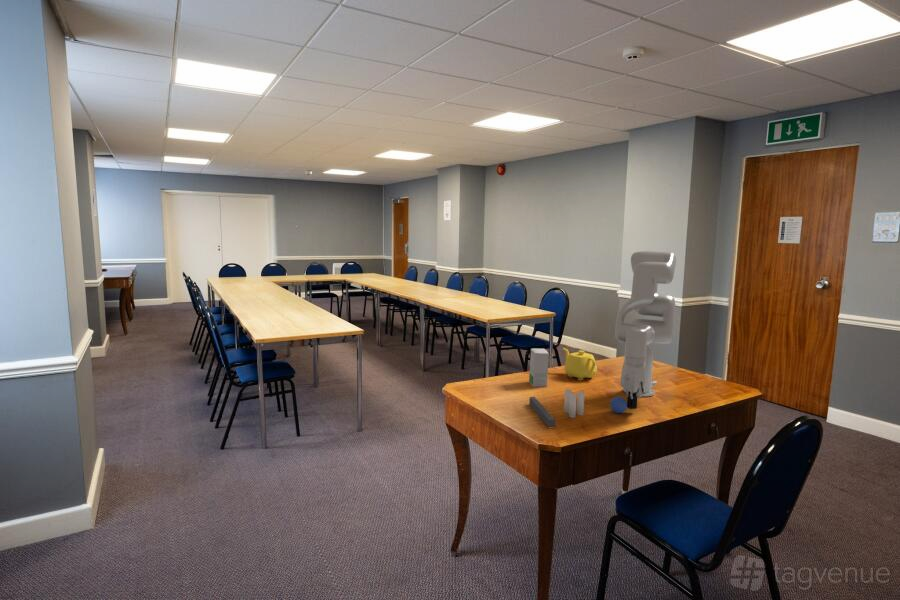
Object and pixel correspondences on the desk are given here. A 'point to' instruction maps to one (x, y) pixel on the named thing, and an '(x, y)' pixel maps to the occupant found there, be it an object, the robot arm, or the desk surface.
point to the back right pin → (567, 400)
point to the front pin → (580, 403)
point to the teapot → (580, 364)
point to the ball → (618, 405)
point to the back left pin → (572, 405)
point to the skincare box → (538, 367)
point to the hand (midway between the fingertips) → (631, 408)
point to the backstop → (542, 412)
